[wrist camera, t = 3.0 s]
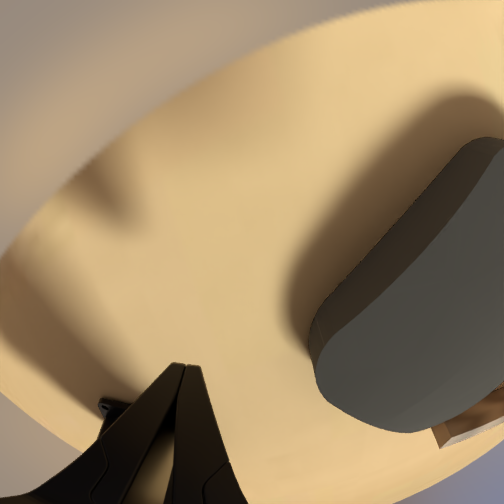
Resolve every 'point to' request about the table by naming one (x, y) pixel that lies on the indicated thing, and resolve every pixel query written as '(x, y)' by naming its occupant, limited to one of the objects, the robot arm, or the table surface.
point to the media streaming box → (423, 305)
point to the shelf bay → (472, 420)
